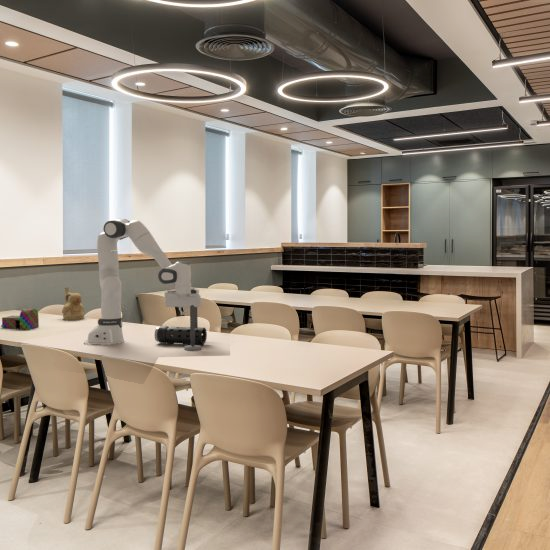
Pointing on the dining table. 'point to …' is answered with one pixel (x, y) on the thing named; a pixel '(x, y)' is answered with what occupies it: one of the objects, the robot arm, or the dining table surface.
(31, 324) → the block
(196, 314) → the far cord post
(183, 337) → the muzzle brake
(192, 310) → the post
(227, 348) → the dining table surface
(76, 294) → the tan eared figurine
